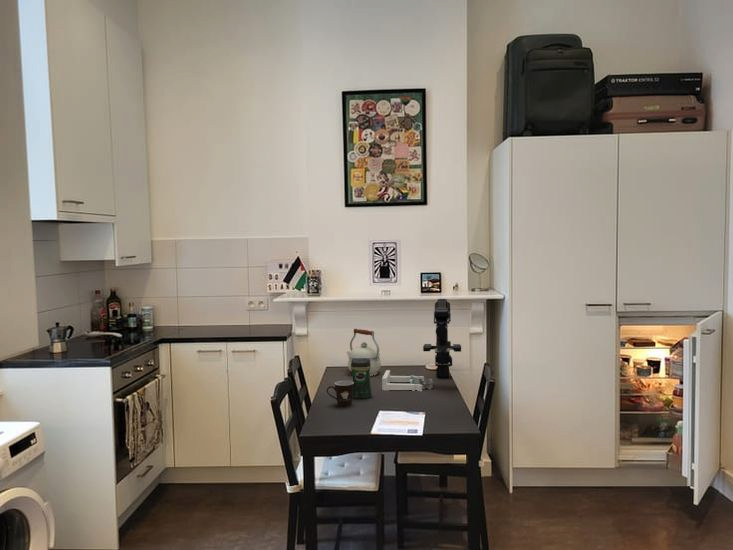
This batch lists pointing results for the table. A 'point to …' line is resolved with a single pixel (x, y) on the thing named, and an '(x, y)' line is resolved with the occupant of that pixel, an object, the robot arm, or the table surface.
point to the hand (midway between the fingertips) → (442, 364)
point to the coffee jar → (361, 377)
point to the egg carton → (425, 383)
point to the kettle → (365, 352)
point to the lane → (388, 386)
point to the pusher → (412, 379)
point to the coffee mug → (343, 392)
